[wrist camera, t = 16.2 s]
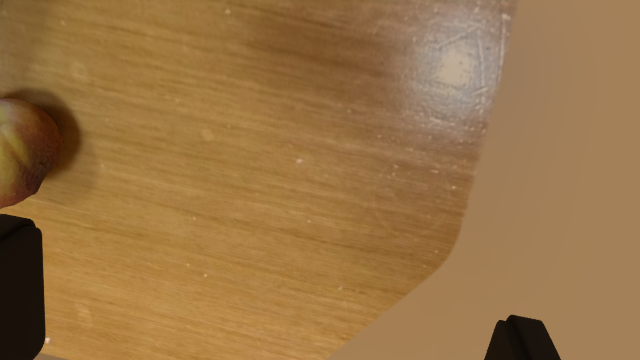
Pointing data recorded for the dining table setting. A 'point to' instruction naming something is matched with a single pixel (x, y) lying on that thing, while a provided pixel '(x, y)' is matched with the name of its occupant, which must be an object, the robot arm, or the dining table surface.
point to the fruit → (25, 149)
